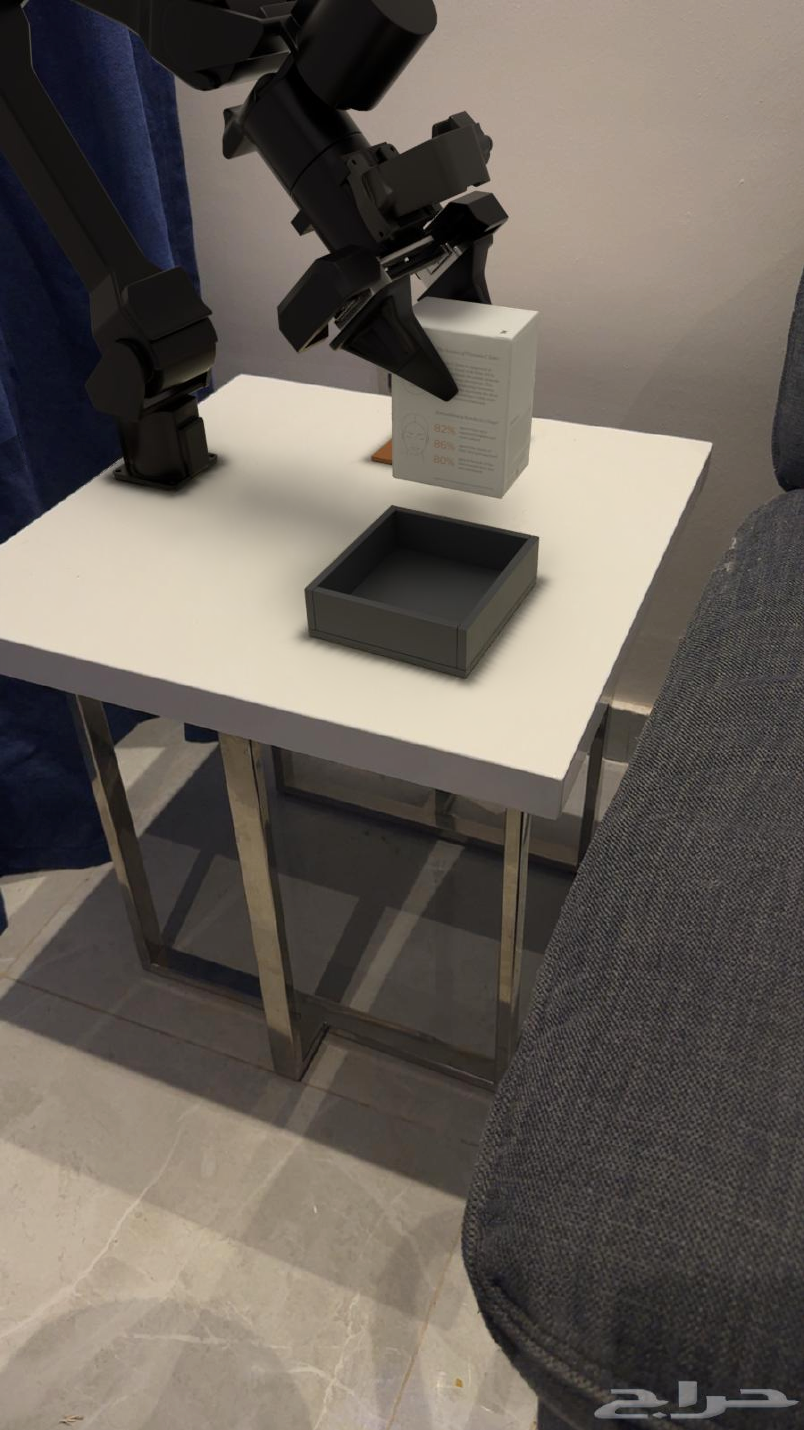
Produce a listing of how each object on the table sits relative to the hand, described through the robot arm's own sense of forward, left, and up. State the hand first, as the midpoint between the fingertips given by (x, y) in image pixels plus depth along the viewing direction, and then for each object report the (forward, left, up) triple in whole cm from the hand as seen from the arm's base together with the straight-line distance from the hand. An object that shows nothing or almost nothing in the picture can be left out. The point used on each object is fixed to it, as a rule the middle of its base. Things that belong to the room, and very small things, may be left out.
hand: (478, 380), depth 65 cm
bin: (-1, -7, -13) cm, 15 cm away
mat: (-10, +16, -13) cm, 23 cm away
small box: (-1, 0, -7) cm, 7 cm away
